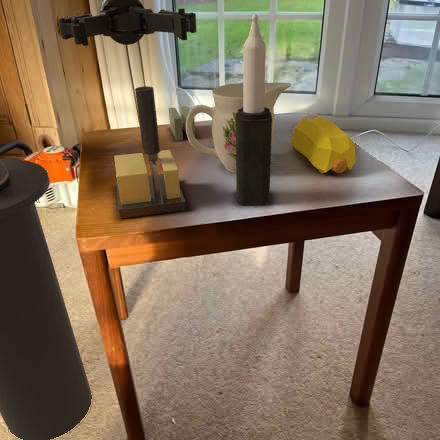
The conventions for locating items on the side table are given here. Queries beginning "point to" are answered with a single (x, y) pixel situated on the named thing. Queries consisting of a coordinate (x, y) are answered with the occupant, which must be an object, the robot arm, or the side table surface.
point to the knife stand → (179, 122)
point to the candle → (253, 126)
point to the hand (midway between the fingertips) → (134, 31)
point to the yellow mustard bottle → (324, 145)
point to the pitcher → (229, 119)
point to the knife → (149, 129)
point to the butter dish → (153, 205)
